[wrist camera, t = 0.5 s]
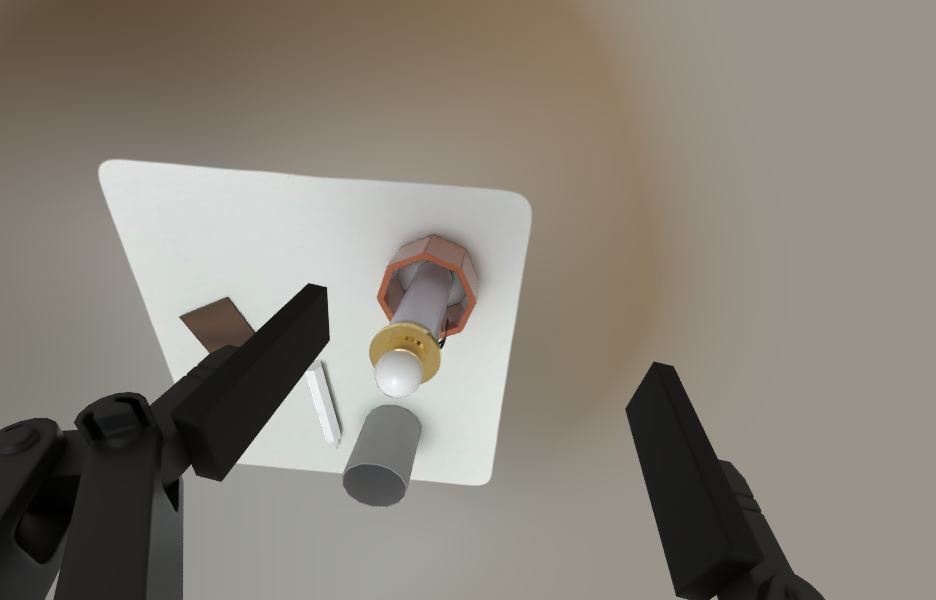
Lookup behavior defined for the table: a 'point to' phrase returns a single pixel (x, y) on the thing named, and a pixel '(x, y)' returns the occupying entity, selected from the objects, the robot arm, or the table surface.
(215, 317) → the coaster
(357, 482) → the cup
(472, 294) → the holder
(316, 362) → the marker
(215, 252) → the table surface
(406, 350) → the perfume bottle
